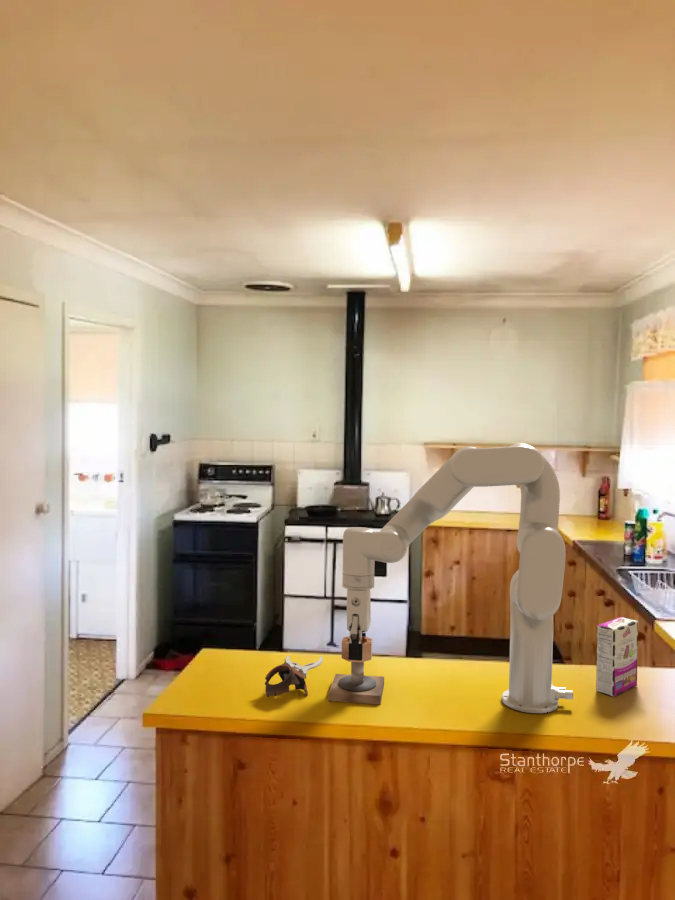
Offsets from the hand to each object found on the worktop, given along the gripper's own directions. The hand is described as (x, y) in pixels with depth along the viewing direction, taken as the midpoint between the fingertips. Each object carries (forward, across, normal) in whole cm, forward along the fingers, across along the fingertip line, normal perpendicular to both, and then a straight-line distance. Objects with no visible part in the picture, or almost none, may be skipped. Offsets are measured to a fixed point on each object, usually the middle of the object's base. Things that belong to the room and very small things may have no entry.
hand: (357, 653), depth 171 cm
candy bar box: (+9, +12, -62) cm, 64 cm away
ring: (+1, 0, 0) cm, 1 cm away
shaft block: (+9, 0, 0) cm, 9 cm away
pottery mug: (+10, -3, +16) cm, 19 cm away
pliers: (+10, +15, +16) cm, 24 cm away
